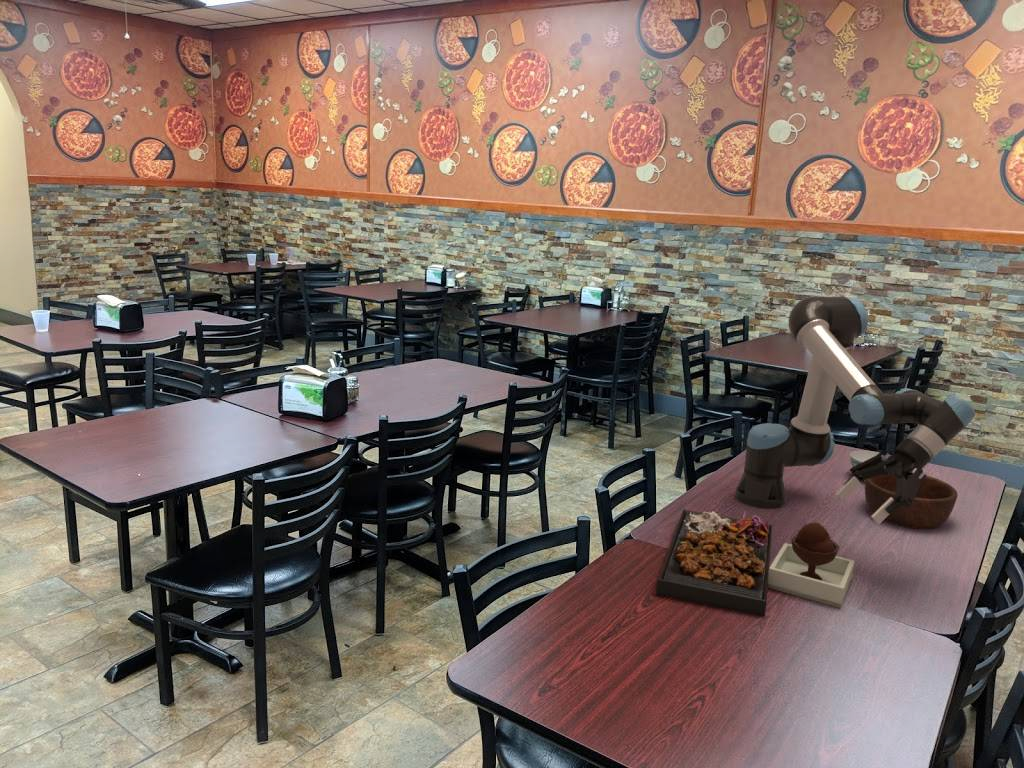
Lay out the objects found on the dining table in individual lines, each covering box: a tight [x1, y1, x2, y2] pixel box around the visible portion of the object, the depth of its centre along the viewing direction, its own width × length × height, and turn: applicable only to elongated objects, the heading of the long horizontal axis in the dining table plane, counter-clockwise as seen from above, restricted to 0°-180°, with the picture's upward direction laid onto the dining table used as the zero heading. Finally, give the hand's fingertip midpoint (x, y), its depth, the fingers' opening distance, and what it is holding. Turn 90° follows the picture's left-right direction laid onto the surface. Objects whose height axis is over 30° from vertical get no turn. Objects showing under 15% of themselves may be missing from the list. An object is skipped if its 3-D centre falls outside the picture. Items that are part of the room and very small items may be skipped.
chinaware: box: [849, 450, 886, 482], centre depth 269 cm, size 15×15×8 cm
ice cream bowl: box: [791, 522, 840, 581], centre depth 195 cm, size 11×11×15 cm
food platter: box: [655, 509, 773, 617], centre depth 204 cm, size 45×25×10 cm, turn 161°
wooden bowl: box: [864, 474, 958, 530], centre depth 240 cm, size 25×25×10 cm
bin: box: [768, 542, 855, 609], centre depth 197 cm, size 17×17×5 cm
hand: (856, 508), depth 195 cm, fingers open, 13 cm apart
